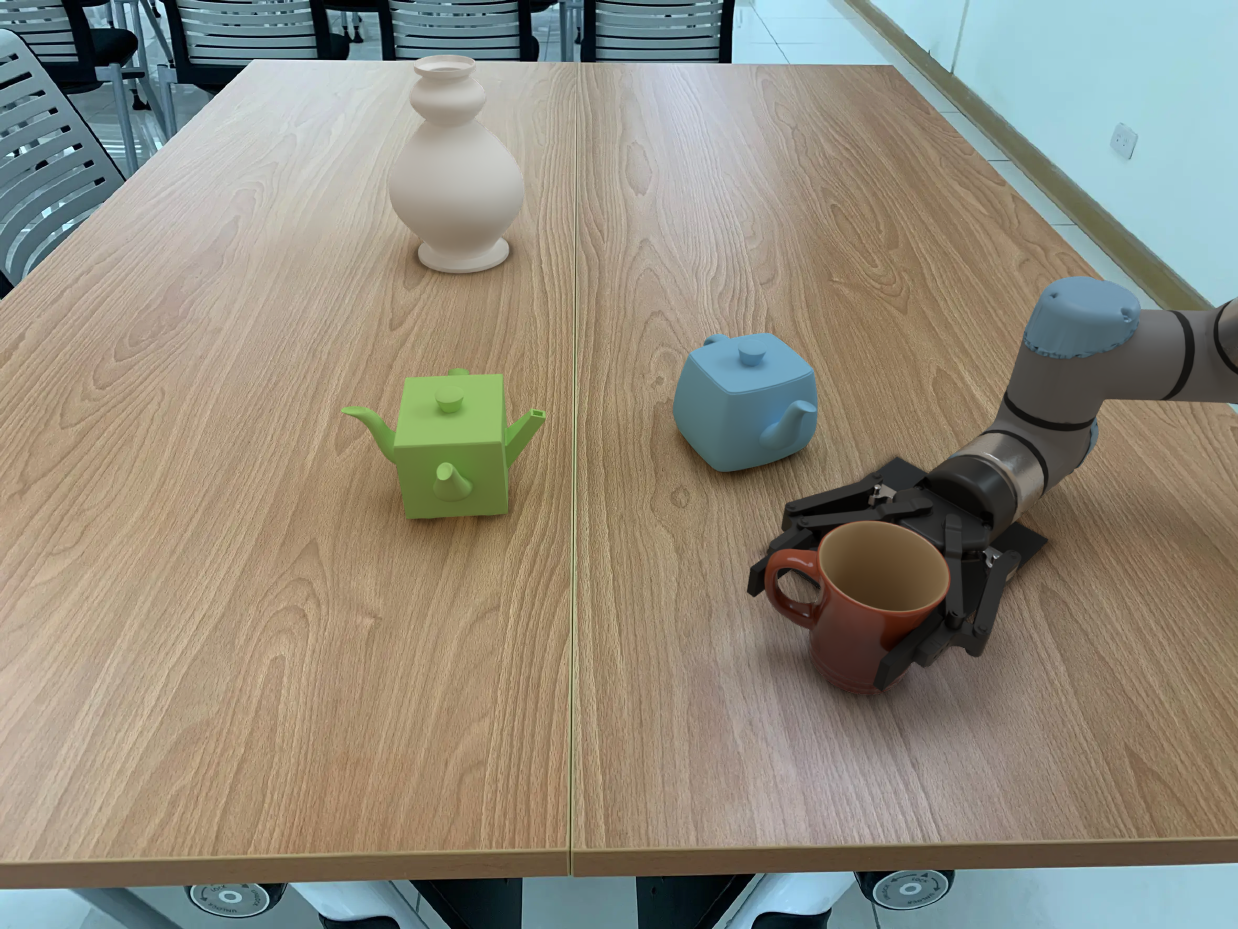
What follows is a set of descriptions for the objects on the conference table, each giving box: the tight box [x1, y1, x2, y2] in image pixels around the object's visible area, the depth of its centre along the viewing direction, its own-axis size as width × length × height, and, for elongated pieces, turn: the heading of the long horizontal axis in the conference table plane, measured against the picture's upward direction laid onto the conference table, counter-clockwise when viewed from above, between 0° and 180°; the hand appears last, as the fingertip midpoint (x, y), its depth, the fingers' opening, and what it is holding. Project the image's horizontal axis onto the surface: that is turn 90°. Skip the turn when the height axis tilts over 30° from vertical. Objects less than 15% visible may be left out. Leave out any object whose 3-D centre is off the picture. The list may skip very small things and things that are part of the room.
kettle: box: [340, 367, 547, 520], centre depth 81 cm, size 15×14×11 cm
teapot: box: [672, 332, 819, 473], centre depth 86 cm, size 12×18×12 cm
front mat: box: [766, 456, 1049, 622], centre depth 79 cm, size 16×20×1 cm
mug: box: [764, 521, 951, 696], centre depth 66 cm, size 13×9×11 cm
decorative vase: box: [388, 54, 526, 274], centre depth 116 cm, size 18×18×25 cm
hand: (813, 627), depth 63 cm, fingers closed on mug, 11 cm apart
